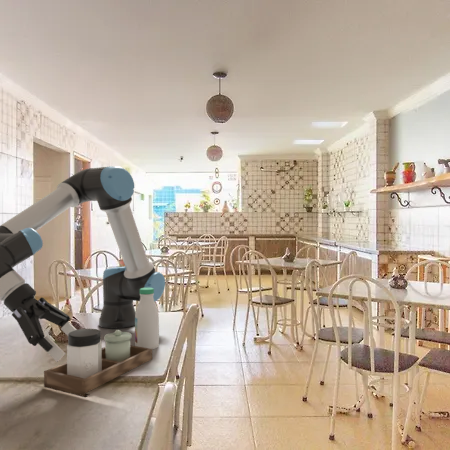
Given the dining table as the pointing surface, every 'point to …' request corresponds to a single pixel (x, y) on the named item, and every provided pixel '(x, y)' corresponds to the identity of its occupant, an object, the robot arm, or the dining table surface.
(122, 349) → the sugar pot
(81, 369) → the jar
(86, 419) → the dining table surface
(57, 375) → the caddy
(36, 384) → the dining table surface
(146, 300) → the milk bottle
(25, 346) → the dining table surface
